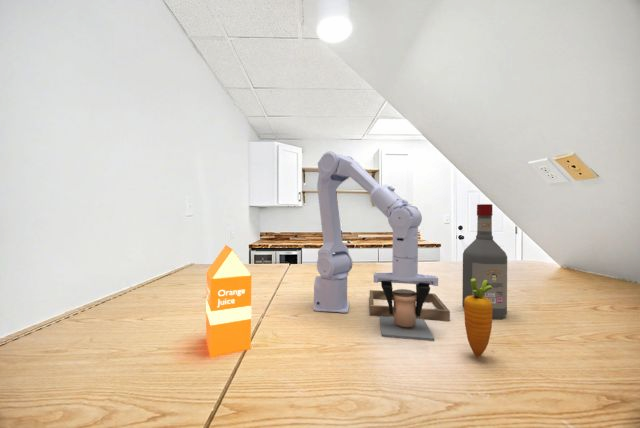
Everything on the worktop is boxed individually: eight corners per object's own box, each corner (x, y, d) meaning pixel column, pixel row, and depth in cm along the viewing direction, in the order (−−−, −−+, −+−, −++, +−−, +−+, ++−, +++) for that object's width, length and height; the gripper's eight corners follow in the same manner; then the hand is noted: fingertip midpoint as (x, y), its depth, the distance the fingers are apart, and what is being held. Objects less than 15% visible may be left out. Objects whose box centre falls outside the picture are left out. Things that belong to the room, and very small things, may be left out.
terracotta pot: (392, 326, 63) (392, 296, 63) (391, 316, 69) (391, 288, 69) (419, 328, 62) (418, 297, 62) (416, 317, 68) (415, 289, 67)
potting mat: (381, 336, 61) (381, 334, 61) (379, 318, 71) (379, 316, 71) (434, 340, 59) (434, 338, 59) (424, 321, 69) (424, 319, 69)
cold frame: (369, 315, 73) (369, 305, 73) (369, 297, 89) (369, 289, 89) (449, 321, 70) (449, 311, 70) (434, 301, 86) (434, 293, 86)
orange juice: (209, 357, 51) (210, 250, 51) (205, 338, 59) (206, 245, 59) (251, 348, 55) (252, 248, 55) (242, 331, 62) (243, 243, 62)
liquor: (511, 319, 71) (512, 204, 71) (475, 319, 71) (476, 203, 71) (491, 307, 80) (491, 205, 80) (459, 307, 80) (459, 205, 81)
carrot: (484, 351, 54) (485, 275, 54) (498, 365, 49) (499, 281, 49) (458, 349, 55) (459, 274, 55) (469, 363, 50) (470, 280, 50)
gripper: (433, 255, 68) (433, 310, 67) (373, 253, 70) (373, 306, 70) (440, 259, 61) (440, 321, 61) (373, 257, 63) (373, 316, 63)
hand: (404, 314), depth 65 cm, fingers closed on terracotta pot, 5 cm apart
